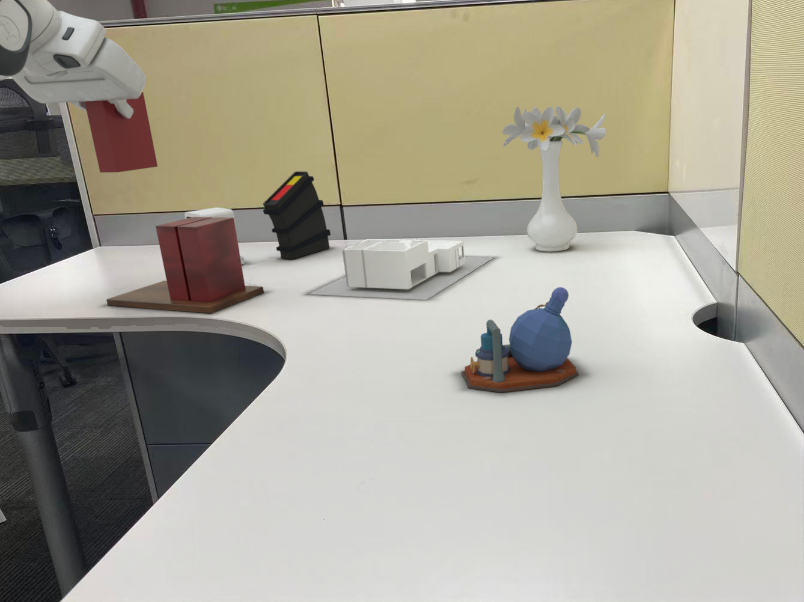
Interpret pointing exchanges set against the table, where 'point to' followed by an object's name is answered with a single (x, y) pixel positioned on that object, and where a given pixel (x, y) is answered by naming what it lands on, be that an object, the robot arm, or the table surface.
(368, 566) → the table surface
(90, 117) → the book
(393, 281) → the house
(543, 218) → the flower vase
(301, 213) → the magazine
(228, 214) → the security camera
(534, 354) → the model
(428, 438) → the table surface
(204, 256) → the book rack
